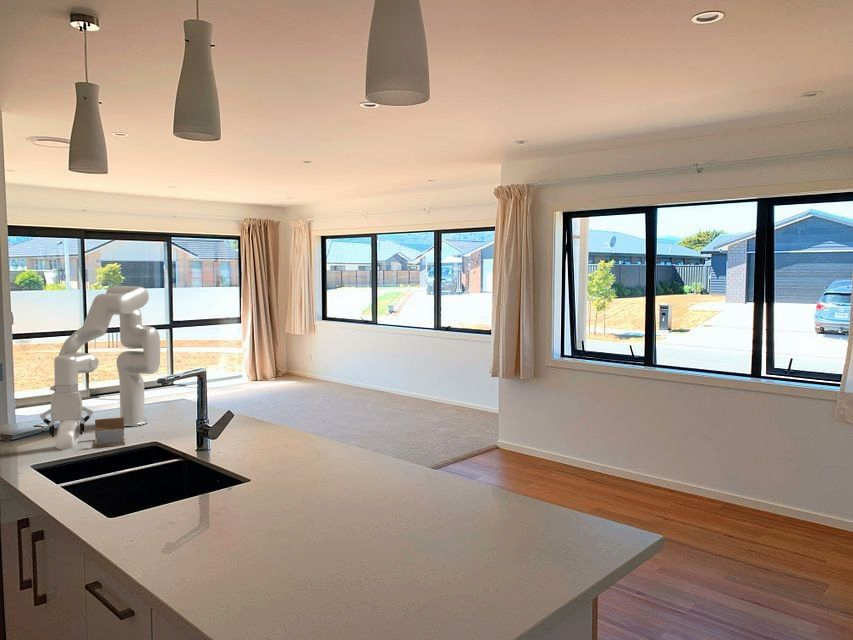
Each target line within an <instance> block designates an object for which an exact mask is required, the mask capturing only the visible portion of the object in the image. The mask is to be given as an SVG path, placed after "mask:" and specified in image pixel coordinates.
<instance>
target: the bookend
mask: <svg viewBox="0 0 853 640" xmlns="http://www.w3.org/2000/svg"><path fill="white" fill-rule="evenodd" d="M96 438H97V445H104V444H114V443H124V440H123V429H115V430H104V431H96Z"/></svg>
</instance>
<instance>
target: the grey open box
mask: <svg viewBox="0 0 853 640" xmlns="http://www.w3.org/2000/svg"><path fill="white" fill-rule="evenodd" d="M94 427H95V428H94V429H95V430H94V432H95V433H94V436H95V438H94V447H95V449H98V447H99V449H100V448H108V447H109V448H110V447H119V446H118V445H121V446H125V445H126V441H125V440H126V439H125V427H124V417H120V416H119V417H111V418H110V417H108V418H96V419H94ZM115 429H123V440H124V443H114V444H104V445H97V438H96V431H104V430H115Z"/></svg>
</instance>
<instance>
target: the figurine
mask: <svg viewBox="0 0 853 640" xmlns="http://www.w3.org/2000/svg"><path fill="white" fill-rule="evenodd" d="M79 425H80V423H79V420H78V419H75V420H63V421H59V423H58V425H57V430H56V433H55V445H56V446H55V447H56V449H57V448H58V449H57V450H70V449H69V448H71V449H73V448H75V447H76V446H77V444H78V441H79V439H81V434H80V429H78V427H79Z"/></svg>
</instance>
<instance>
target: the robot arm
mask: <svg viewBox="0 0 853 640" xmlns="http://www.w3.org/2000/svg"><path fill="white" fill-rule="evenodd" d="M149 295H150V294H149V292H148V290H147V289H146V288H145V287H142V286H137V285H136V286H133V285H131V286H130V285H129V286H128V285H115V286H114V285H113V286H110V287H108V288H107V289H106V292H105V293H100V294H98V295H96V296H95V297H94V298H93V301H92V303H91V306H90V307H89V310H88V313H87V315H86V317H85V320H84V322H83V324H82V326H81V327H80V328H78V329H77V330H75V331H74V332H73V333H72V334H71V335H70V336H69V337H68V338H67V339H65V341H64V343H63V344H62V346H61V348H60V350H59V352H58V356H55V358H54V360H53V361H54V362H53V363H54V364H53V365H54V367H53V368H54V370H53V371H54V384H53V386H50V387H49V390H50V391H53V393H52V395H51V399H50V409H48V410H46V411H44V412H42V413H41V414H39V415H40V416H39V417H40V419H41V420H42V422H43V423H44V424H46V425H47V427H48V426H49V429H48V430H49V435H51V438H54V437H55V425H54V424H55V422H60V421H63V420H75V419H78V422H80V423H79V431H80V434H81V435H83V433H84V432H85V423H86V422H87V421H88V420H89V419H91V417H92V415H93V413H94V411H93V410H91V409H89V408H87V407H85V406H83V399H82V398H83V397H82V393H81V391H80V390H79V374H89V373H92V372H94V371H95V370H96V369H97V368H98V366H99V359H98V357H97V356H96V355H95V354H93V353H90V352H89V353H88V352H87V353H86V352H78V351H79V350H80V348H81V347H82V346H84V345H85V344H87V343H88V342H91V341H94V340H95V339H99V338H101V337H102V336H105V334H107V331H108V328H109V326H110V323H111V320H112V318H113V316H119V339H120V344H121V345H122V346H123V347H125V348H130V349H142V350H143V351H139V350H125V351H123V352H121V353H120V354H119V355H117V358H116V367H117V372H118V379H119V417H124V426H132V427H140V426H144V425H147V424H148V423H149V419H148V418H145V381H144V378H143V376H142V375H141V374H143V375H145V374H146V375H152V374H156V373H157V372H158V371H159V369H160V365H161V337H160V334H159V331H158V330H157V328H156V327H153V326H148V325H147V326H145V325H143V322H142V318H143V316H142V313H141V309H142V308H143V307H144V306H146V305H147V304H148V301H149ZM84 412H85V413H87V414H86V416H85V417H83V413H84ZM49 414H50V419H48V418H47V416H48V415H49ZM146 423H147V424H146ZM143 424H144V425H143ZM139 425H140V426H139Z"/></svg>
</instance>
